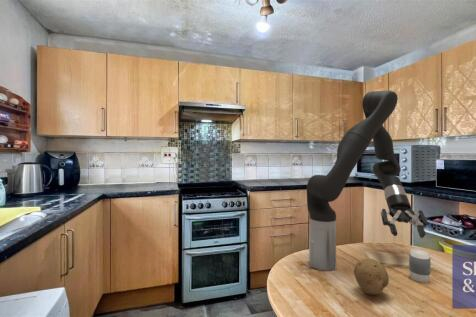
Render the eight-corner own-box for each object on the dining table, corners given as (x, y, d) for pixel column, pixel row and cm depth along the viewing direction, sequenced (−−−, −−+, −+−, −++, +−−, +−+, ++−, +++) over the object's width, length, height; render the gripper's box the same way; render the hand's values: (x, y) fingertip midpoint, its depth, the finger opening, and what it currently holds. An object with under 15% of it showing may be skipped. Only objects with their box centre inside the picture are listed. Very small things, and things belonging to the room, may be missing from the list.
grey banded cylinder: (413, 282, 78) (413, 254, 78) (406, 274, 84) (406, 247, 84) (434, 284, 77) (434, 255, 77) (425, 275, 83) (425, 249, 83)
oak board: (372, 264, 91) (372, 262, 91) (364, 253, 102) (364, 251, 102) (434, 270, 86) (434, 267, 86) (419, 258, 97) (419, 255, 97)
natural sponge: (368, 282, 78) (368, 251, 78) (396, 297, 70) (396, 262, 70) (347, 288, 74) (347, 256, 74) (373, 305, 66) (373, 268, 66)
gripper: (379, 192, 98) (389, 229, 87) (419, 193, 95) (436, 232, 84) (375, 203, 103) (384, 239, 92) (413, 204, 100) (428, 242, 89)
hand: (409, 236), depth 88 cm, fingers open, 8 cm apart
